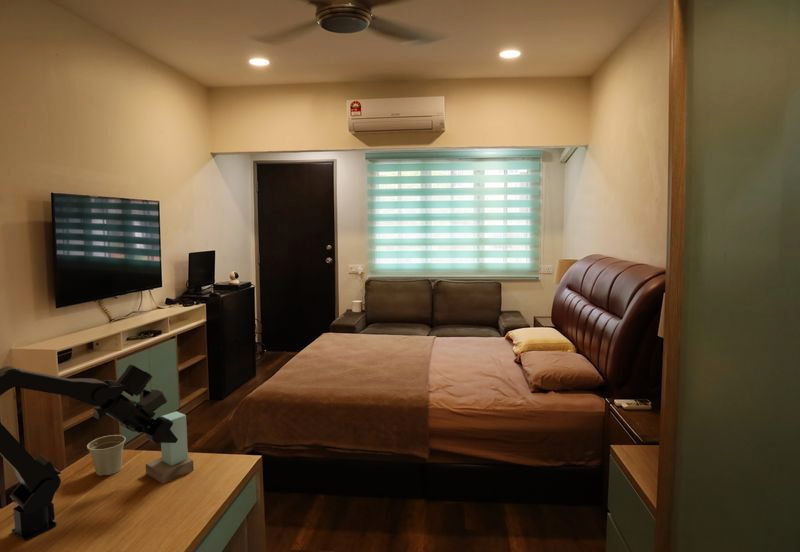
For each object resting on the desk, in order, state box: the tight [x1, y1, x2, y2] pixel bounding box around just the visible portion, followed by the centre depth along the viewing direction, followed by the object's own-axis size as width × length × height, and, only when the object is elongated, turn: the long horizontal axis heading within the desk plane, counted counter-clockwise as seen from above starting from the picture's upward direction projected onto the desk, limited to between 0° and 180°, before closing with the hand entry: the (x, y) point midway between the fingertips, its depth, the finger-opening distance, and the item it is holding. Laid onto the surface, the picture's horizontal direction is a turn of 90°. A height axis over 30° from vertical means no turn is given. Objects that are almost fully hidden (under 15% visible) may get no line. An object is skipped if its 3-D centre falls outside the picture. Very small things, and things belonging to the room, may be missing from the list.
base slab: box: [145, 457, 194, 484], centre depth 138 cm, size 9×9×3 cm
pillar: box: [159, 411, 189, 466], centre depth 138 cm, size 5×5×13 cm
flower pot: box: [86, 434, 127, 477], centre depth 138 cm, size 9×9×9 cm
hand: (167, 437), depth 137 cm, fingers open, 9 cm apart
